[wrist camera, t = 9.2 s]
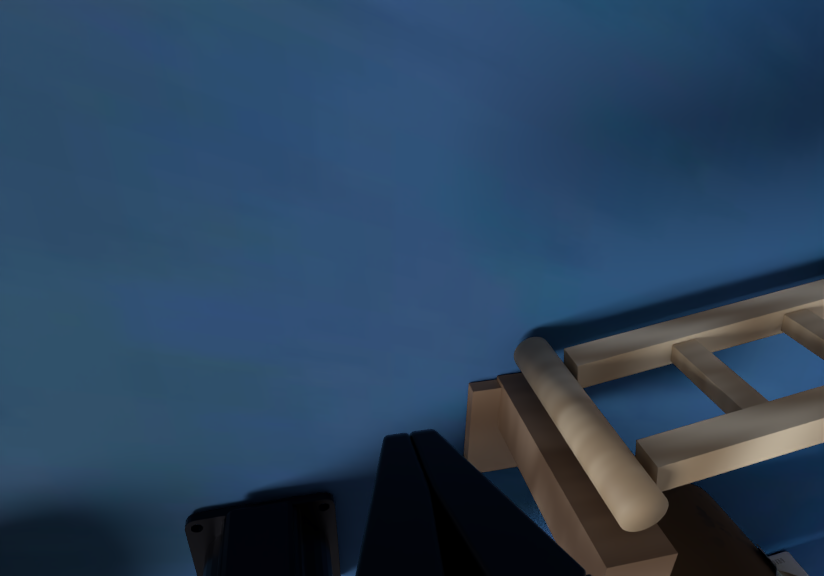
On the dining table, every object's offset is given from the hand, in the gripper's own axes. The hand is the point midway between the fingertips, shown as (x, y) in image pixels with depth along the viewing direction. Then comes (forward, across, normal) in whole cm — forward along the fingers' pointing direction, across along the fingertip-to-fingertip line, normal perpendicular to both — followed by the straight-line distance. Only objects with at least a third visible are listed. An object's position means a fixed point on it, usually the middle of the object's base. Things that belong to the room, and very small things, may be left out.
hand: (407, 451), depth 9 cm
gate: (+11, -15, +6) cm, 20 cm away
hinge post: (+12, -8, +11) cm, 18 cm away
